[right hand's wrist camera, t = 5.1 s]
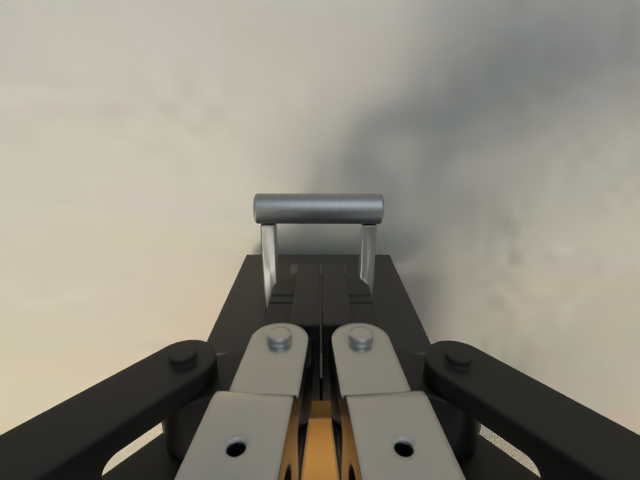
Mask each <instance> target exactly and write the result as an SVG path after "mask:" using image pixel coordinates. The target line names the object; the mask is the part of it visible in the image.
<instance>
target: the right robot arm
mask: <svg viewBox="0 0 640 480" xmlns="http://www.w3.org/2000/svg"><path fill="white" fill-rule="evenodd" d="M322 400H330V403H331V436H332V444H333V452H334V460H335V468H336V476H337V480H640V435H638V434H636V433H634V432H632V431H630V430H629V429H627V428H625V427H623V426H621V425H619V424H617V423H615V422H614V421H612V420H610V419H608V418H606V417H604V416H602V415H600V414H599V413H597V412H595V411H593V410H591V409H589V408H587V407H585V406H584V405H582V404H580V403H578V402H576V401H574V400H572V399H570V398H569V397H567V396H565V395H563V394H561V393H559V392H557V391H555V390H554V389H552V388H550V387H548V386H546V385H544V384H542V383H540V382H539V381H537V380H535V379H533V378H531V377H529V376H527V375H525V374H524V373H522V372H520V371H518V370H516V369H514V368H512V367H510V366H509V365H507V364H505V363H503V362H501V361H499V360H497V359H495V358H494V357H492V356H490V355H488V354H486V353H484V352H482V351H480V350H479V349H477V348H475V347H473V346H471V345H468V344H465V343H461V342H457V341H440V342H436V343H434V344H432V345H430V346H429V347H428V348H427V350H426V354H425V355H421V354H417V353H412V352H408V351H404V350H402V349H399V348H397V347H395V346H393V345H392V344H391V341H390V339H389V337H388V335H387V334H386V333H385V332H384V331H383V330H382V329H380V326H379V323H378V319H377V315H376V311H375V307H374V304H373V300H372V296H371V292H370V288H369V286H368V285H367V284H366V283H365V282H364V281H363V280H362V279H361V278H346V274H345V267H344V264H322ZM312 401H320V264H298V267H297V274H296V278H281V279H280V280H279V281H278V282H277V283H276V284H275V285H274V286H273V288H272V292H271V297H270V300H269V304H268V308H267V312H266V316H265V320H264V324H263V327H262V328H260V329H258V330H257V331H256V332H255V333H254V334H253V335H252V337H251V339H250V341H249V344H248V346H247V347H246V348H244V349H242V350H239V351H235V352H231V353H227V354H222V355H217V356H216V351H215V348H214V347H213V346H212V345H211V344H209V343H207V342H204V341H200V340H186V341H181V342H177V343H174V344H171V345H169V346H167V347H165V348H163V349H161V350H160V351H158V352H156V353H154V354H152V355H150V356H148V357H146V358H145V359H143V360H141V361H139V362H137V363H135V364H133V365H131V366H130V367H128V368H126V369H124V370H122V371H120V372H118V373H116V374H115V375H113V376H111V377H109V378H107V379H105V380H103V381H101V382H100V383H98V384H96V385H94V386H92V387H90V388H88V389H86V390H85V391H83V392H81V393H79V394H77V395H75V396H73V397H71V398H70V399H68V400H66V401H64V402H62V403H60V404H58V405H56V406H55V407H53V408H51V409H49V410H47V411H45V412H43V413H41V414H40V415H38V416H36V417H34V418H32V419H30V420H28V421H26V422H25V423H23V424H21V425H19V426H17V427H15V428H13V429H11V430H10V431H8V432H6V433H4V434H2V435H0V480H303V476H304V468H305V460H306V452H307V444H308V436H309V419H310V416H311V413H312ZM159 423H162V428H163V433H162V434H160V435H159V436H158V437H156V438H155V439H153V440H152V441H151V442H149V443H148V444H146V445H145V446H144V447H142V448H141V449H139V450H138V451H137V452H135V453H134V454H132V455H131V456H130V457H128V458H127V459H125V460H124V461H123V462H121V463H120V464H118V465H117V466H115V467H114V468H113V469H111V470H110V471H108V472H107V473H106V474H104V475H103V476H102V472H103V469H104V467H105V465H106V464H107V462H108V461H109V460H110V459H111V458H112V456H114V455H115V454H116V453H117V452H118V451H120V450H121V449H123V448H124V447H126V446H127V445H128V444H130V443H131V442H133V441H134V440H136V439H137V438H139V437H140V436H142V435H143V434H144V433H146V432H147V431H149V430H150V429H152V428H153V427H155V426H156V425H158V424H159ZM481 424H482V425H484V426H485V427H487V428H488V429H490V430H491V431H493V432H494V433H496V434H497V435H498V436H500V437H501V438H503V439H504V440H506V441H507V442H509V443H510V444H512V445H513V446H514V447H516V448H517V449H519V450H520V451H522V452H523V453H524V454H526V455H527V456H528V457H529V458H530V459H531V460H532V461H533V462H534V464H535V465H536V467H537V468H538V470H539V473H540V476H541V478H540V477H539V476H537V475H536V474H534V473H533V472H532V471H530V470H529V469H527V468H526V467H525V466H523V465H522V464H520V463H519V462H517V461H516V460H515V459H513V458H512V457H510V456H509V455H508V454H506V453H505V452H503V451H502V450H501V449H499V448H498V447H496V446H495V445H494V444H492V443H491V442H489V441H488V440H487V439H485V438H484V437H482V436H481V435H480V434H479V433H480V428H481Z"/></svg>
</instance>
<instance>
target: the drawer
mask: <svg viewBox="0 0 640 480" xmlns="http://www.w3.org/2000/svg"><path fill="white" fill-rule="evenodd" d="M253 210H254V219H255V222H256V223H262V224H261V242H262V255H247V256H246V258H245V260H244V262H243V264H242V267H241V269H240V271H239V273H238V275H237V278H236V280H235V282H234V284H233V286H232V288H231V291H230V293H229V295H228V297H227V299H226V301H225V304H224V306H223V308H222V310H221V312H220V314H219V317H218V319H217V321H216V323H215V325H214V327H213V330H212V332H211V334H210V336H209V338H208V340H207V343H209V344H211V345H212V346H213V347H214V348H215V351H216V356H217V355H222V354H227V353H231V352H235V351H239V350H242V349H244V348H246V347H247V346H248V344H249V341H250V339H251V337H252V335H253V334H254V333H255V332H256V331H257V330H258V329H260V328H262V327H263V324H264V320H265V316H266V312H267V308H268V304H269V300H270V297H271V292H272V288H273V286H274V285H275V284H276V283H277V282H278V281H279V280H280V279H281V278H296V274H297V267H298V264H320V400H322V264H344V267H345V274H346V278H361V279H362V280H363V281H364V282H365V283H366V284H367V285H368V286H369V288H370V292H371V296H372V300H373V304H374V307H375V311H376V315H377V319H378V323H379V326H380V329H382V330H383V331H384V332H385V333H386V334H387V335H388V337H389V339H390V341H391V344H392V345H393V346H395V347H397V348H399V349H402V350H404V351H408V352H412V353H417V354H421V355H425V354H426V350H427V348H428V347H429V346H430V345H431V344H430V341H429V339H428V337H427V335H426V333H425V331H424V328H423V326H422V324H421V322H420V320H419V318H418V316H417V313H416V311H415V309H414V307H413V305H412V303H411V301H410V298H409V296H408V294H407V292H406V290H405V288H404V286H403V283H402V281H401V279H400V277H399V275H398V273H397V271H396V268H395V266H394V264H393V262H392V260H391V258H390V256H389V255H375V246H376V230H377V226H376V224H380V223H382V221H383V216H384V200H383V196H382V195H381V194H256V195H255V197H254V205H253ZM277 224H361V228H360V250H359V255H278V246H277Z"/></svg>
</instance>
